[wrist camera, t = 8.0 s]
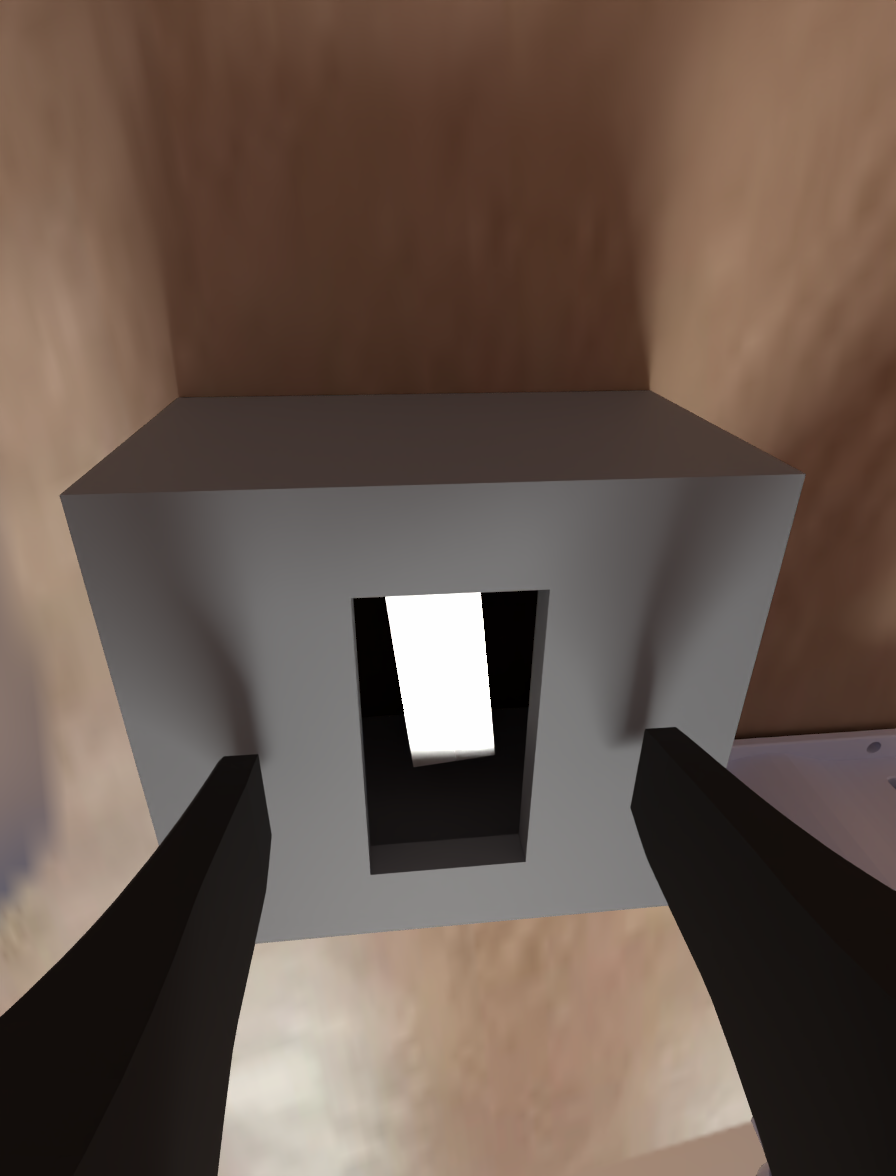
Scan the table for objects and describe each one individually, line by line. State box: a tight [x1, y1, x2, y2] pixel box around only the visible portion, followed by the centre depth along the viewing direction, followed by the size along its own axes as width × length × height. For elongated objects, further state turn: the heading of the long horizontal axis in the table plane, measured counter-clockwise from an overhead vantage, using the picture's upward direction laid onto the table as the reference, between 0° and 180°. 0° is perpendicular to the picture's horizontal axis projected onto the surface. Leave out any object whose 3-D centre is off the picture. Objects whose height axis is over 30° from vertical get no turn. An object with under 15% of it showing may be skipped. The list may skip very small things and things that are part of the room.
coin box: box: [60, 390, 806, 944], centre depth 16 cm, size 12×11×7 cm
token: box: [385, 593, 495, 767], centre depth 17 cm, size 2×5×5 cm, turn 6°
